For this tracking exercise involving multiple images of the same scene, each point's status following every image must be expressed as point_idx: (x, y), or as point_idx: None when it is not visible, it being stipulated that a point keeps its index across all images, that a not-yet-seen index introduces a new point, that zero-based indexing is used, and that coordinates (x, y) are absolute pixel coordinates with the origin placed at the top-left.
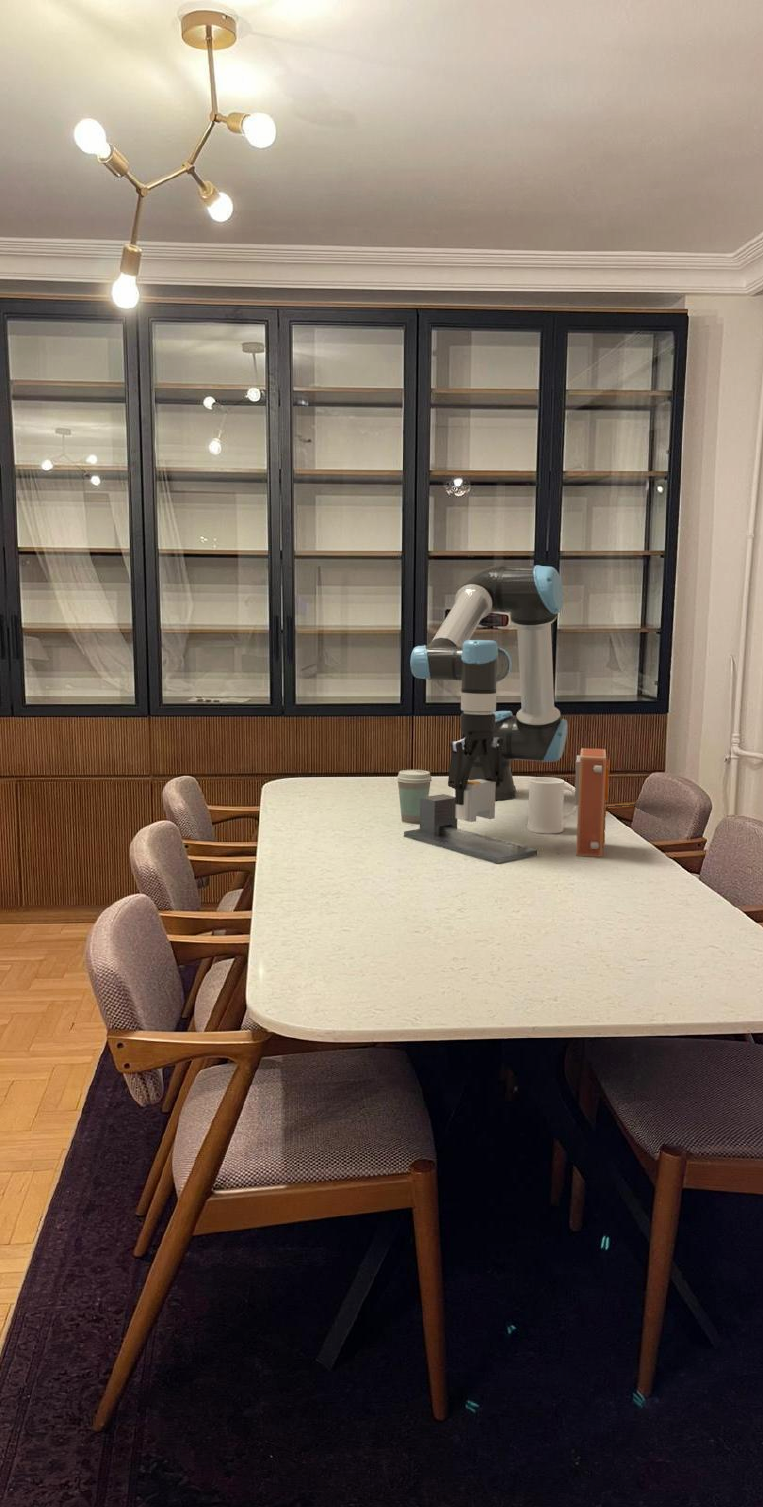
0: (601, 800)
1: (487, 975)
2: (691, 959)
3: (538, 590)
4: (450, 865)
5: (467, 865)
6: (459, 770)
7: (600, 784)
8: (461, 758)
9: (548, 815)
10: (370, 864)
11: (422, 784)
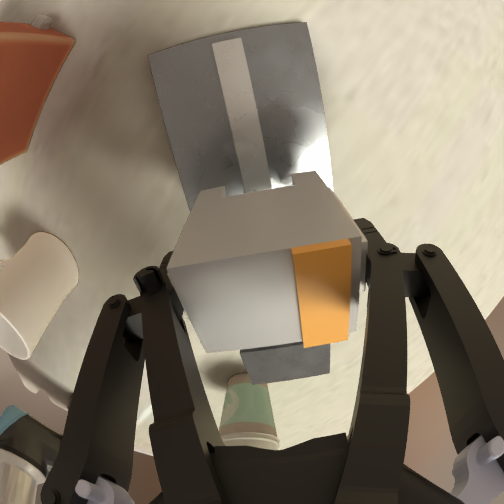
0: None
1: None
2: None
3: None
4: (407, 77)
5: (376, 53)
6: (461, 308)
7: None
8: (487, 374)
9: (32, 257)
10: (494, 176)
11: (246, 429)
